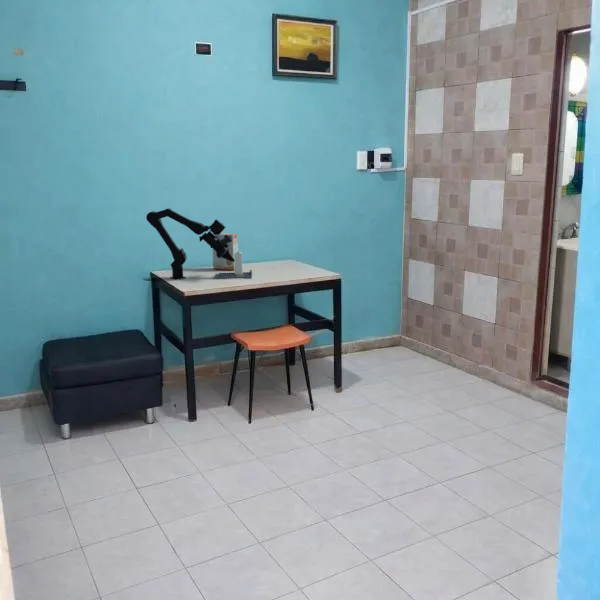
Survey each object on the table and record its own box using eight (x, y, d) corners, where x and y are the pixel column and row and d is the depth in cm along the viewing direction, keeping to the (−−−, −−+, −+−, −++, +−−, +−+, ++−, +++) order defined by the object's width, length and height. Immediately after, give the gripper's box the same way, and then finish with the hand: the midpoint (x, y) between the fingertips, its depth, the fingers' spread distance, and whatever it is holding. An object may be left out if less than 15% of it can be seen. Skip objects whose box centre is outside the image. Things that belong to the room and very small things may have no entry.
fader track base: (214, 279, 348) (213, 273, 347) (215, 275, 357) (215, 270, 357) (251, 278, 349) (251, 272, 348) (252, 275, 358) (251, 269, 358)
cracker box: (239, 269, 378) (237, 233, 373) (233, 271, 372) (232, 234, 368) (218, 267, 383) (217, 232, 379) (213, 269, 378) (211, 233, 374)
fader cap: (234, 275, 351) (234, 252, 348) (235, 273, 355) (234, 251, 352) (242, 275, 351) (241, 252, 348) (242, 273, 355) (241, 250, 353)
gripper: (221, 232, 338) (243, 253, 341) (224, 228, 356) (244, 248, 359) (207, 247, 340) (229, 268, 342) (210, 243, 358) (231, 262, 361)
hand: (234, 261), depth 351 cm, fingers closed, pressing on fader cap
